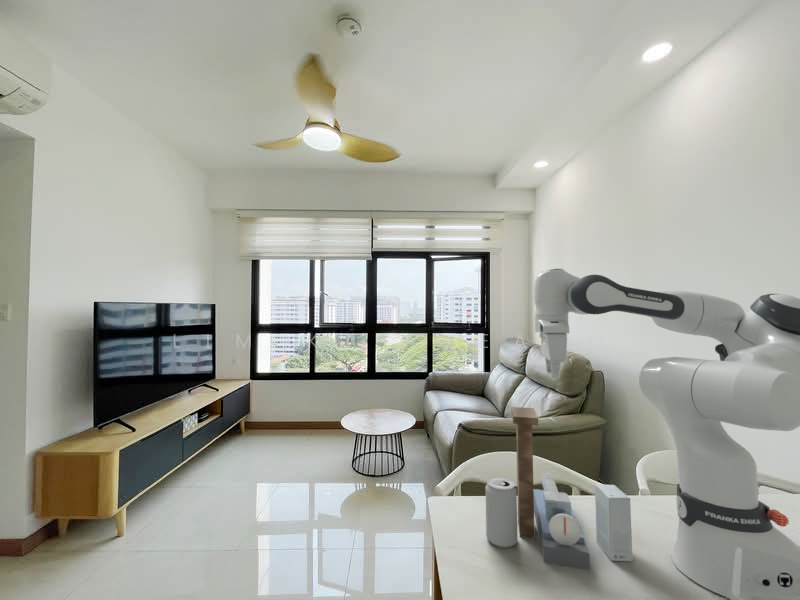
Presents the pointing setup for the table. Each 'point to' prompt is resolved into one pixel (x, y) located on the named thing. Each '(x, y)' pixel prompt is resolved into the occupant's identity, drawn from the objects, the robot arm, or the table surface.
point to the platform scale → (560, 537)
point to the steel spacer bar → (554, 498)
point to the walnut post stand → (525, 468)
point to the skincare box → (613, 522)
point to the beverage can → (501, 512)
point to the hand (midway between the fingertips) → (552, 375)
